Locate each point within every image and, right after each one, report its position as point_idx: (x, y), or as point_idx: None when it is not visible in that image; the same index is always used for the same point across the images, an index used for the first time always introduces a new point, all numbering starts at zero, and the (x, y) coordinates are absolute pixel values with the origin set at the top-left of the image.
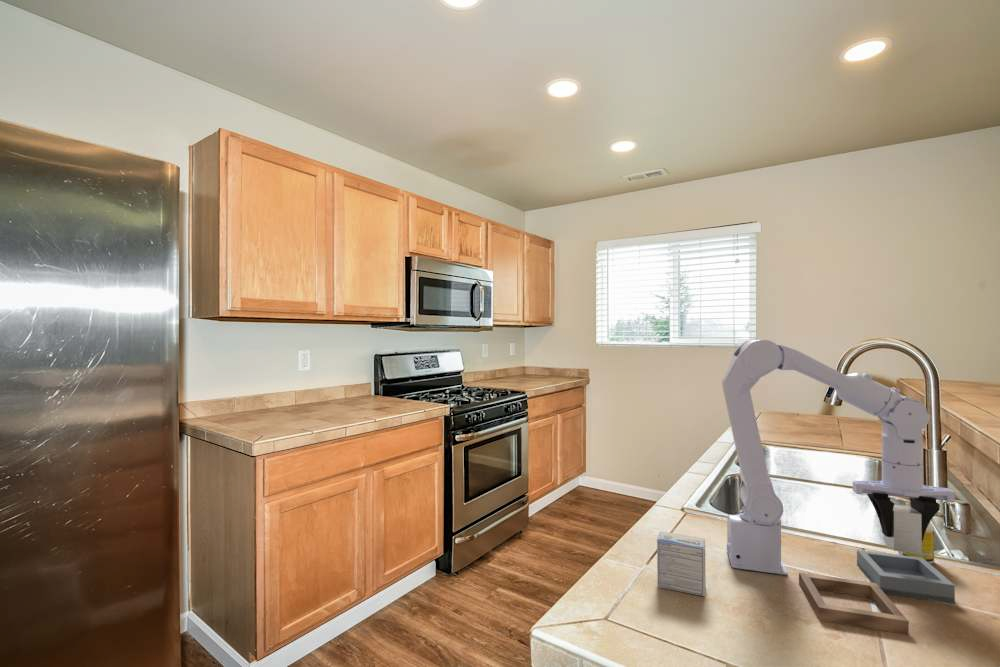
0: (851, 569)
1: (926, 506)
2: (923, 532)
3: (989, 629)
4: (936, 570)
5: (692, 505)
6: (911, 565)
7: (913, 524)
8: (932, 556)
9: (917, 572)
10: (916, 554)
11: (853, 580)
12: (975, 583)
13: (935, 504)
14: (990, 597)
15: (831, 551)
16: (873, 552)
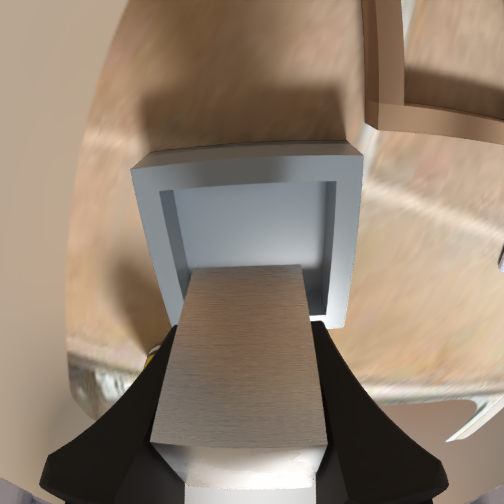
0: (362, 267)
1: (106, 489)
2: (162, 352)
3: (118, 31)
4: (155, 264)
5: (490, 403)
6: None
7: (206, 379)
8: (147, 361)
9: None
10: None
11: (437, 131)
12: (88, 288)
13: (55, 491)
14: (70, 229)
15: (360, 344)
16: None
